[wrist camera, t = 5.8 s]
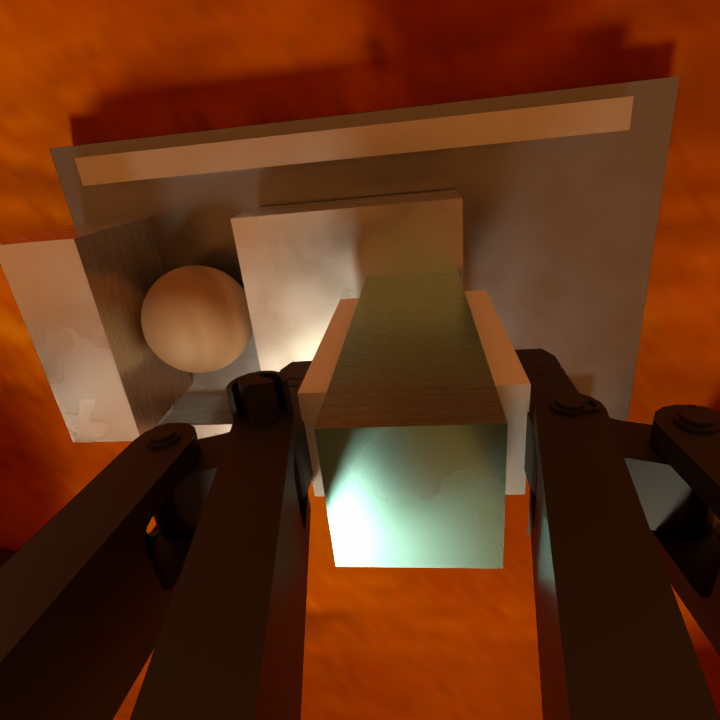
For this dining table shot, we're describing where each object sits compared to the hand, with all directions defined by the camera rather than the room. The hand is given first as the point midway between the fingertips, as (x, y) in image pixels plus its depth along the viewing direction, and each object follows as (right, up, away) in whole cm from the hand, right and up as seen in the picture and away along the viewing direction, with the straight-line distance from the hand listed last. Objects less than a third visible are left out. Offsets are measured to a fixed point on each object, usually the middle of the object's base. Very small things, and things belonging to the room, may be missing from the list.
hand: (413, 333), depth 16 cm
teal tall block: (-2, +2, +5) cm, 5 cm away
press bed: (-2, +3, +6) cm, 7 cm away
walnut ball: (-8, +1, +4) cm, 9 cm away
